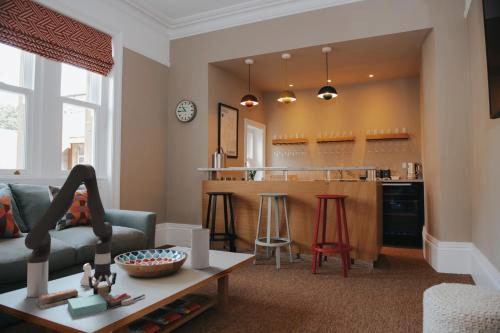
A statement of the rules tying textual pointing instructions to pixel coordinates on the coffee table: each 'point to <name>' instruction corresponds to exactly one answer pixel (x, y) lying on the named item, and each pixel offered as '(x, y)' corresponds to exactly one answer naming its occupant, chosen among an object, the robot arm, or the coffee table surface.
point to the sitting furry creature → (86, 275)
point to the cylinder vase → (199, 248)
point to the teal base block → (86, 305)
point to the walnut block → (103, 290)
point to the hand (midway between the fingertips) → (102, 294)
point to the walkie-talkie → (120, 300)
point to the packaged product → (57, 298)
